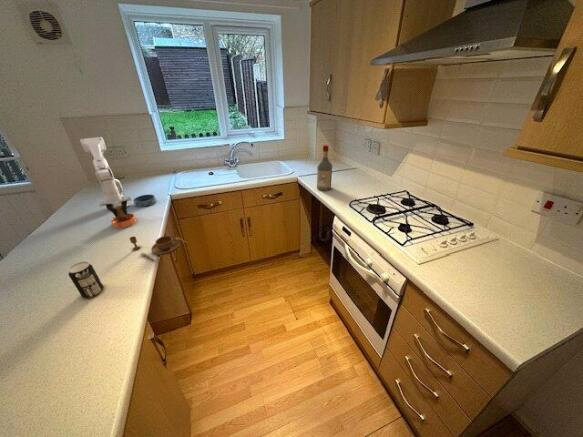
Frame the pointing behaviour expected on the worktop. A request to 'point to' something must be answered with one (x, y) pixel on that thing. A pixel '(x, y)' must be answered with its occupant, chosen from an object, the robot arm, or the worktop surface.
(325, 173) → the liquor
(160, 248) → the place setting
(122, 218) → the spice jar
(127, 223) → the terracotta bowl
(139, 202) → the blue bowl
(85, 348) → the worktop surface
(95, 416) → the worktop surface
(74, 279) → the beverage can
